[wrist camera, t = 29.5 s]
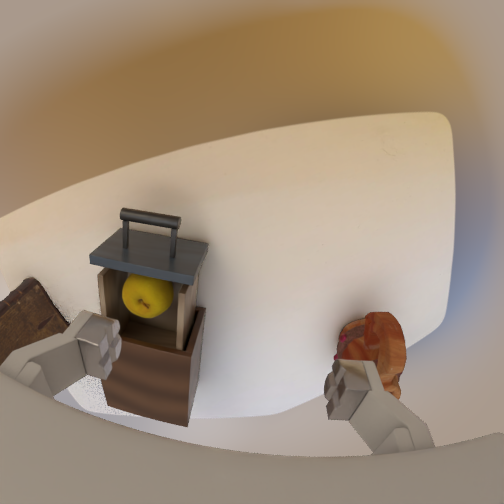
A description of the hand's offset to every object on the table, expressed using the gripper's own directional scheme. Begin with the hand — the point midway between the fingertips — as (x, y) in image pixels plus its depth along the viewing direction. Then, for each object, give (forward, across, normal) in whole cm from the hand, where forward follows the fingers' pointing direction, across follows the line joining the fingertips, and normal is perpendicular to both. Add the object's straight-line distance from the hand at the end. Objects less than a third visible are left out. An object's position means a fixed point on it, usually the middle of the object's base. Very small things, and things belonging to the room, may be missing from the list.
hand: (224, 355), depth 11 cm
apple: (+27, +11, +14) cm, 32 cm away
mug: (+29, -20, +17) cm, 39 cm away
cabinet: (+29, +11, +27) cm, 41 cm away
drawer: (+28, +11, +14) cm, 33 cm away
